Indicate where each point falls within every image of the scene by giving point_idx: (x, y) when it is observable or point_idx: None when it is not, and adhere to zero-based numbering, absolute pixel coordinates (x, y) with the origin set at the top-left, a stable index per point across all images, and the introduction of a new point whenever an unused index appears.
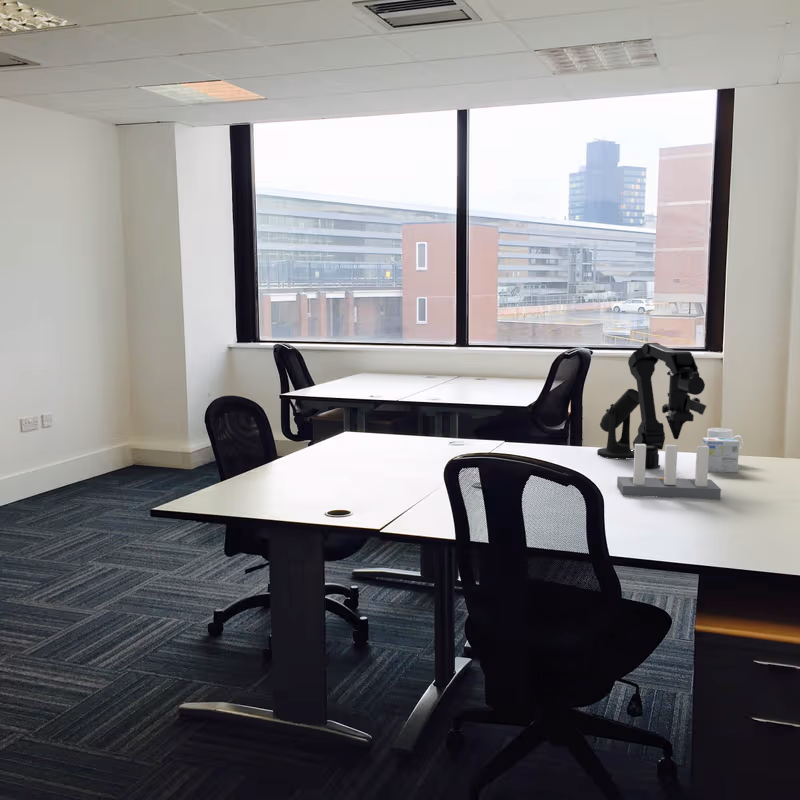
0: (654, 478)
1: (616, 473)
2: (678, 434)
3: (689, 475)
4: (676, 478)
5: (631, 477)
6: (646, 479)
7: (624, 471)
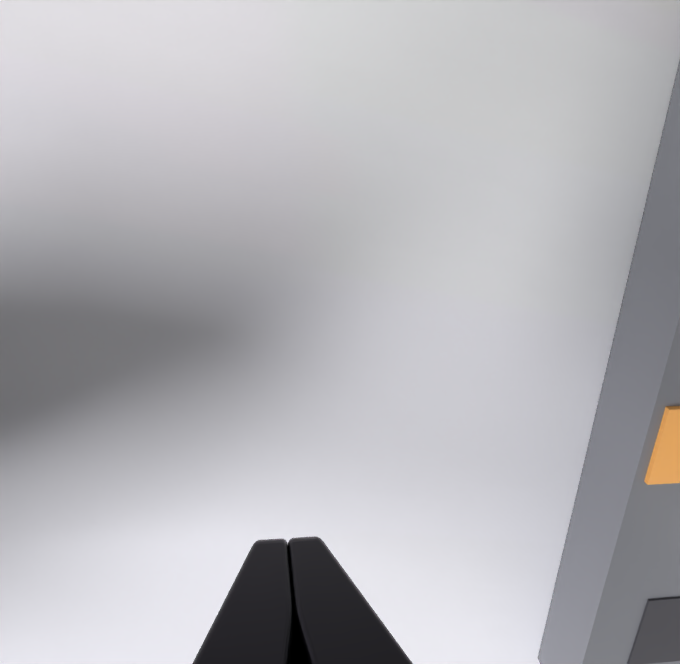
0: (651, 514)
1: (147, 657)
2: (375, 637)
3: (59, 42)
4: (677, 344)
5: (601, 649)
6: (674, 567)
7: (52, 609)
